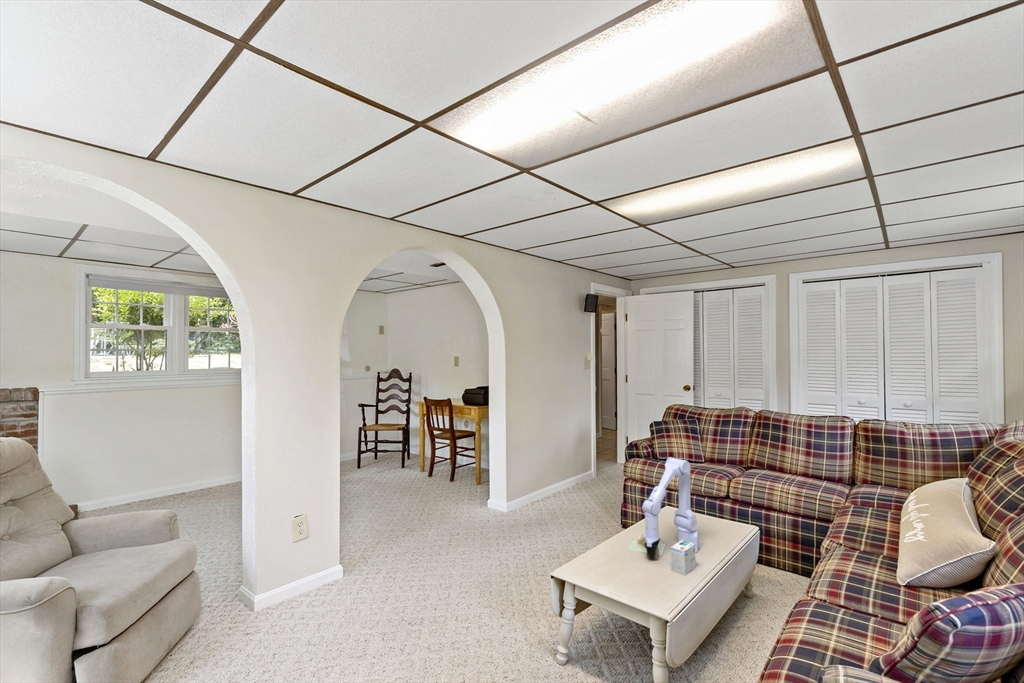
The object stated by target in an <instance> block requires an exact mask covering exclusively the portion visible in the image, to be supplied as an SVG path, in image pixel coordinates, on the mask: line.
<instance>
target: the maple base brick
mask: <svg viewBox="0 0 1024 683" xmlns="http://www.w3.org/2000/svg"><path fill="white" fill-rule="evenodd" d="M643 535H644V534H639V535H638V537H637V538H636V540H637V547H640V548H646V547H645V545H644V543H645V542H647V541H646V538H643Z"/></svg>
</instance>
